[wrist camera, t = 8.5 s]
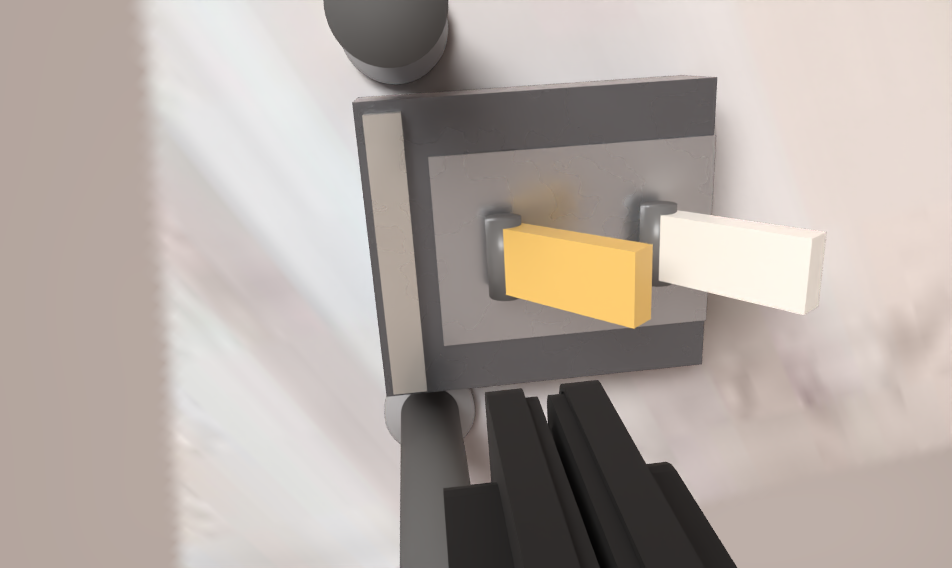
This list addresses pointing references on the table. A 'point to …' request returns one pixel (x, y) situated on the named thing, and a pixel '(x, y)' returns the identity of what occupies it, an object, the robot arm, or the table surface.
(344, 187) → the table surface
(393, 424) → the post far
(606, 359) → the breaker panel
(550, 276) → the paddle amber
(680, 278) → the paddle white
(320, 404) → the table surface
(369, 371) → the table surface
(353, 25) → the post near
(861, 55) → the table surface
